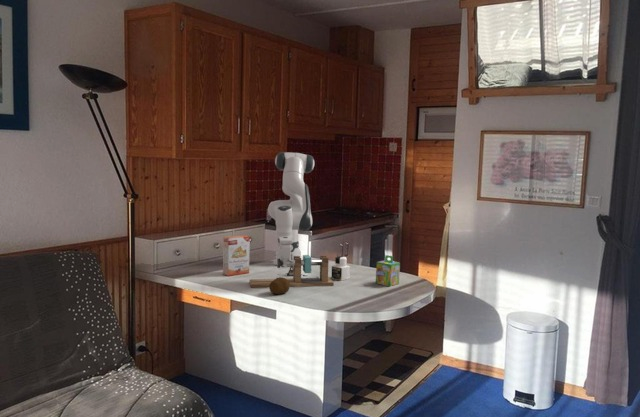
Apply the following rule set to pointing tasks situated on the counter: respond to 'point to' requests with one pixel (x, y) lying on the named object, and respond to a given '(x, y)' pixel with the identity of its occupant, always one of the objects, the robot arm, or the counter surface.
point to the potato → (279, 285)
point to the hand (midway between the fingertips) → (283, 264)
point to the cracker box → (236, 255)
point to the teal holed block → (307, 264)
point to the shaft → (292, 262)
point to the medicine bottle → (340, 269)
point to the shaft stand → (297, 279)
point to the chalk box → (387, 272)
